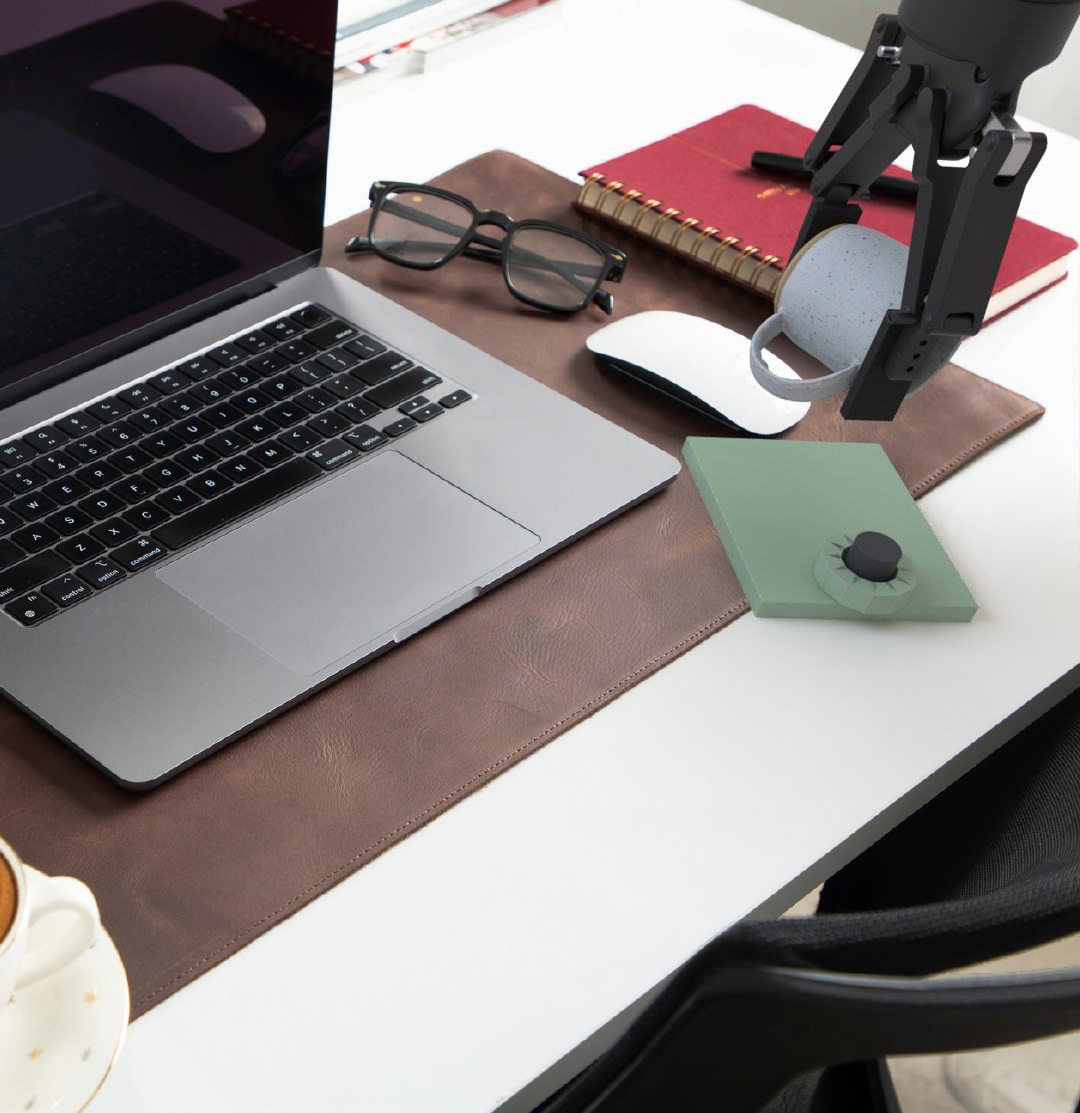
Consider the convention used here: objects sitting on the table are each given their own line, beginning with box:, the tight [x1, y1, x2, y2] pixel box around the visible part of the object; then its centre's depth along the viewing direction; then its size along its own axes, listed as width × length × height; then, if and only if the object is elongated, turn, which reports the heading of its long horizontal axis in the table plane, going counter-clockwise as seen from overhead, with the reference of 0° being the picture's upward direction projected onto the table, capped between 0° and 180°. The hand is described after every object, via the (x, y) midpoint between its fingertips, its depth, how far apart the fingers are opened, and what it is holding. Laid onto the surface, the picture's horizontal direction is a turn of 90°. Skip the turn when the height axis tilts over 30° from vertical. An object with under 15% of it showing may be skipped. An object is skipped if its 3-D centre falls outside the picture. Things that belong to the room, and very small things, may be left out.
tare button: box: [845, 531, 902, 582], centre depth 89 cm, size 3×3×2 cm
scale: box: [681, 436, 979, 623], centre depth 94 cm, size 17×14×3 cm
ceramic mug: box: [749, 224, 966, 403], centre depth 79 cm, size 11×8×8 cm
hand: (829, 358), depth 81 cm, fingers closed on ceramic mug, 10 cm apart
